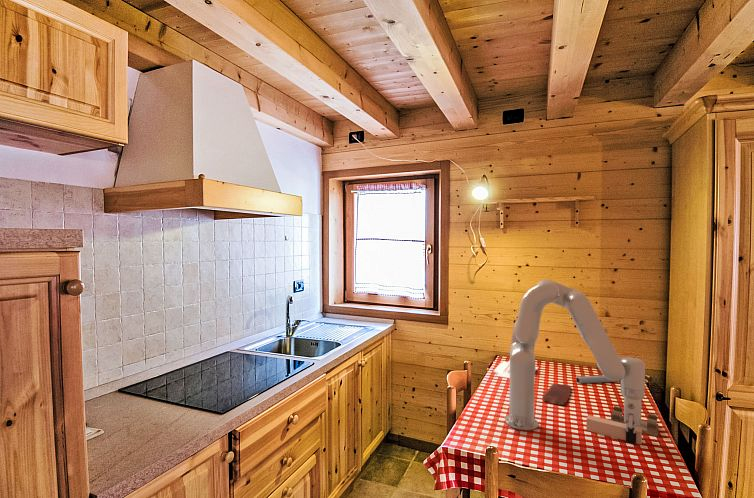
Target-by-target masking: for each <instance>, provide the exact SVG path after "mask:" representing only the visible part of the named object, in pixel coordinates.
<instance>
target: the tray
mask: <svg viewBox="0 0 754 498" xmlns="http://www.w3.org/2000/svg"><path fill="white" fill-rule="evenodd" d="M538 369H539V366H535V372H536V371H538ZM493 373H497V375H496V376H497V377H500V378H505V379H510V360H508V361H504V360H503V361H502V362H500V363H499V364H498V365H497V366H496V367H495V368H494V370H493Z"/></svg>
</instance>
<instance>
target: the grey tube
mask: <svg viewBox="0 0 754 498" xmlns="http://www.w3.org/2000/svg"><path fill="white" fill-rule="evenodd" d="M575 382H576V383H577V384H580V385H581V384H598V383H618V382H619V381H616V382H614V381H610V380H608V379H607V378H606V377H605V376H604V375H590V376H589V375H588V376H586V375H585V376H576V377H575Z"/></svg>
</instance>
